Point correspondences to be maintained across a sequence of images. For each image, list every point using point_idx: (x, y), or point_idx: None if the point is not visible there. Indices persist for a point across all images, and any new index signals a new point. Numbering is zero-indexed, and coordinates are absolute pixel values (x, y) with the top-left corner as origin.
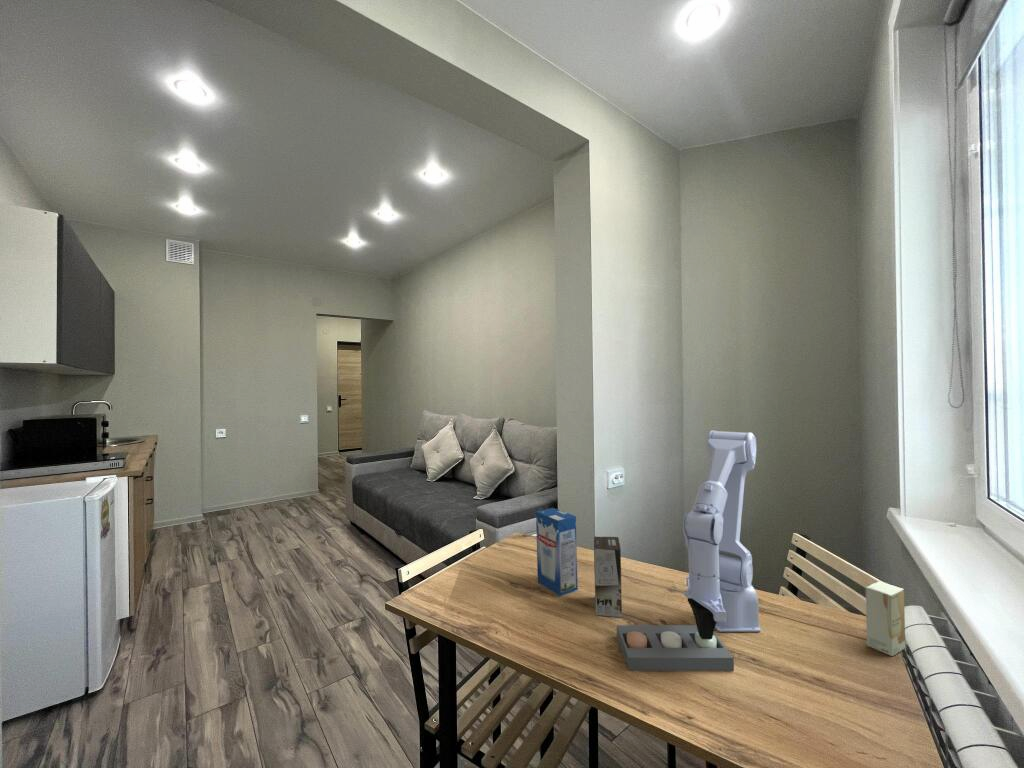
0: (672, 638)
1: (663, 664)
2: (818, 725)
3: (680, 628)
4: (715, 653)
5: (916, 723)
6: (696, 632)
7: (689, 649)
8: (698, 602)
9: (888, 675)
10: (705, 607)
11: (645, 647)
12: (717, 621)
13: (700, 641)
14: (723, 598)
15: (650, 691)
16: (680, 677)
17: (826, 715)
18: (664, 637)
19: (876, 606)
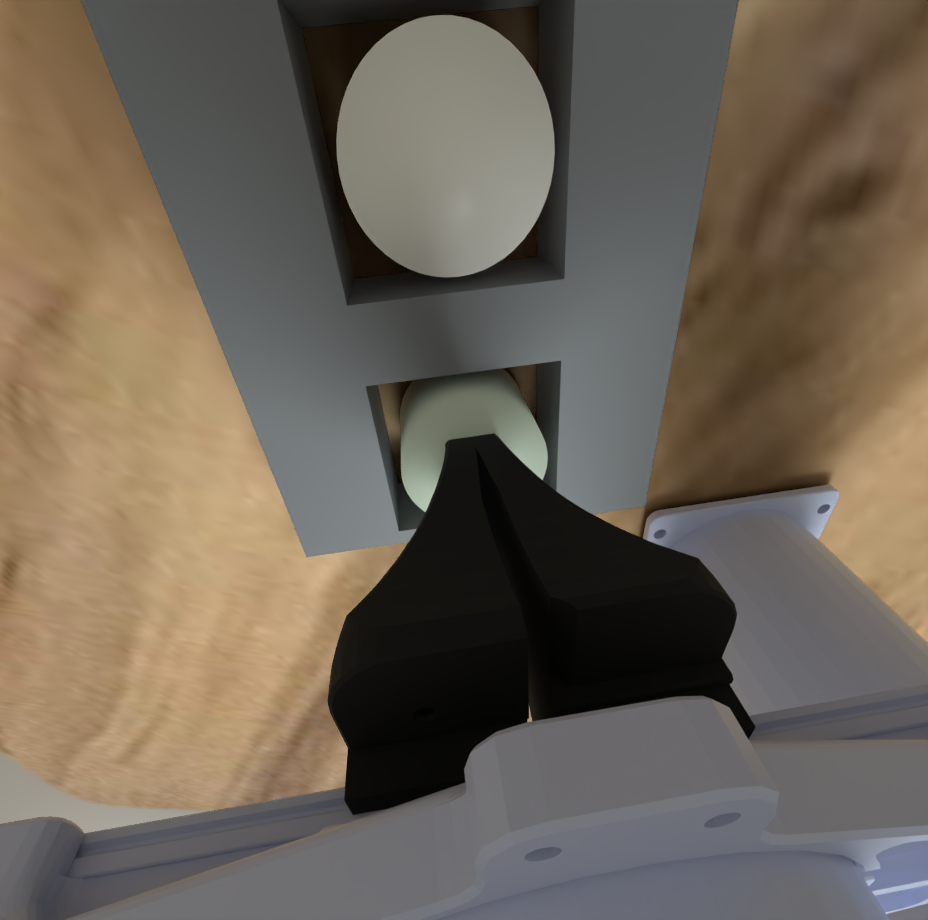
0: (424, 174)
1: None
2: (65, 672)
3: (633, 309)
4: (325, 479)
5: (219, 808)
6: (569, 417)
7: (327, 312)
8: (304, 847)
9: None
10: (361, 775)
11: None
12: (708, 537)
13: (421, 423)
14: (772, 697)
15: None
16: (107, 151)
17: (143, 696)
18: (432, 66)
19: None
